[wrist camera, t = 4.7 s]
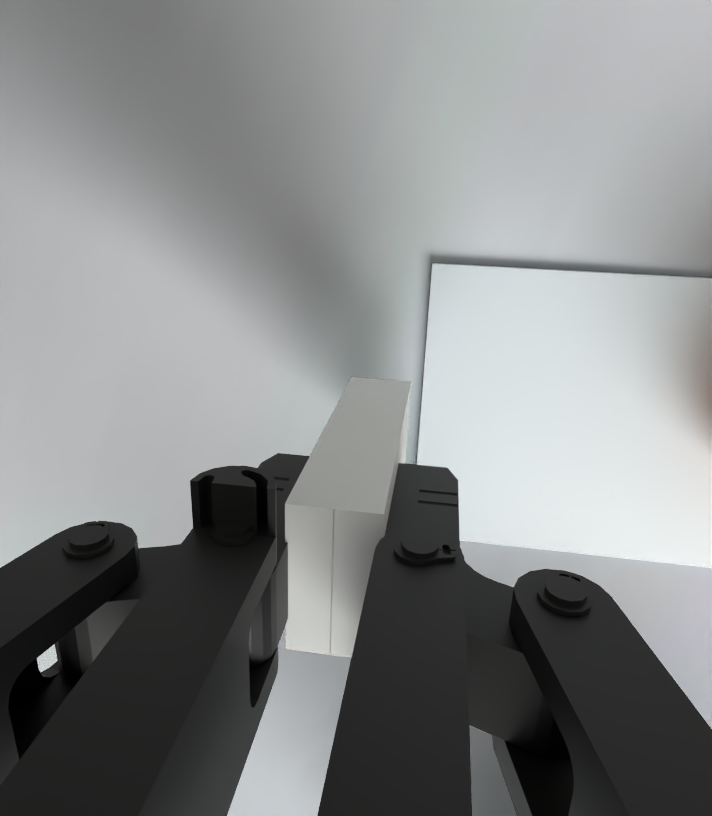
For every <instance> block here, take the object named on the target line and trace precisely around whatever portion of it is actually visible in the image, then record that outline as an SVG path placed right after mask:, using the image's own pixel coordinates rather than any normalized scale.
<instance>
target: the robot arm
mask: <svg viewBox="0 0 712 816" xmlns="http://www.w3.org/2000/svg"><path fill="white" fill-rule="evenodd" d="M410 391H411V382H410V381H397V380H384V379H371V378H359V377H351V379H350V381H349V382H348V384H347V386H346V388H345V390H344V392H343V394H342V396H341V398H340V400H339V402H338V403H337V405H336V407H335V409H334V411H333V413H332V415H331V417H330V419H329V421H328V422H327V424H326V426H325V428H324V430H323V432H322V434H321V436H320V438H319V440H318V442H317V443H316V445H315V447H314V449H313V451H312V453H311V455H310V456H301V455H290V454H280V453H278V454H276V455H274V456H273V457H271V458H269V459H267V460H265V461H264V462H262V463H261V464H260V466H259V467H258V468H253V467H248V466H226V467H220V468H214V469H211V470H208V471H206V472H203V473H200V474H199V475H197V476H196V477H194V478H193V479H192V480H190V485H191V500H192V516H193V529H192V530H191V532H190V533H189V534H188V536H187V537H186V538H185V540H184V541H183V542H182V544H179V545H172V546H164V547H151V548H139V549H138V543H137V536H136V534H135V533H134V531H133V529H132V528H130V527H128V526H126V525H124V524H121V523H115V522H107V521H98V522H96V521H94V522H87V523H84V524H81V525H78V526H74V527H70V528H68V529H66V530H64V531H62V532H60V533H57V534H55V535H54V536H52V537H50V538H49V539H47V540H46V541H44V542H42V543H41V544H39V545H37V546H36V547H34V548H32V549H31V550H29V551H28V552H26V553H24V554H23V555H21V556H19V557H18V558H16V559H14V560H13V561H11V562H9V563H8V564H6V565H5V566H3V567H1V568H0V816H227V813H228V811H229V808H230V805H231V802H232V799H233V796H234V794H235V791H236V788H237V785H238V782H239V779H240V777H241V774H242V771H243V768H244V765H245V763H246V760H247V757H248V754H249V751H250V748H251V746H252V743H253V740H254V737H255V734H256V731H257V729H258V726H259V723H260V720H261V717H262V714H263V712H264V709H265V706H266V703H267V700H268V698H269V695H270V692H271V689H272V686H273V683H274V681H275V678H276V675H277V670H278V643H279V641H280V638H281V635H282V633H283V630H284V627H285V625H286V649H289V650H297V651H304V652H311V653H319V654H326V655H333V656H341V657H348V658H351V663H350V667H349V672H348V677H347V681H346V686H345V690H344V695H343V700H342V704H341V709H340V714H339V718H338V723H337V728H336V732H335V737H334V742H333V746H332V751H331V756H330V760H329V765H328V769H327V774H326V779H325V783H324V788H323V793H322V797H321V802H320V807H319V811H318V816H472V803H471V769H470V736H469V725H471V726H473V727H476V728H478V729H480V730H483V731H485V732H487V733H489V734H492V738H493V746H494V750H495V753H496V756H497V759H498V762H499V765H500V768H501V770H502V773H503V776H504V779H505V782H506V785H507V788H508V791H509V793H510V796H511V799H512V802H513V805H514V808H515V811H516V814H517V816H712V729H711V728H710V727H709V725H708V724H707V723H706V721H705V720H704V719H703V717H702V716H701V715H700V713H699V712H698V711H697V709H696V708H695V707H694V705H693V704H692V703H691V701H690V700H689V699H688V698H687V696H686V695H685V694H684V692H683V691H682V690H681V688H680V687H679V686H678V684H677V683H676V682H675V680H674V679H673V678H672V676H671V675H670V674H669V672H668V671H667V670H666V668H665V667H664V666H663V664H662V663H661V662H660V661H659V659H658V658H657V657H656V655H655V654H654V653H653V651H652V650H651V649H650V647H649V646H648V645H647V643H646V642H645V641H644V639H643V638H642V637H641V635H640V634H639V633H638V631H637V630H636V629H635V628H634V626H633V625H632V624H631V622H630V621H629V620H628V618H627V617H626V616H625V614H624V613H623V612H622V610H621V609H620V608H619V606H618V605H617V604H616V602H615V601H614V600H613V598H612V597H611V596H610V595H609V594H608V593H607V592H606V591H604V590H603V589H602V588H601V587H600V586H599V585H597V584H596V583H594V582H592V581H590V580H588V579H586V578H585V577H583V576H580V575H577V574H574V573H570V572H567V571H562V570H550V569H543V570H537V571H530V572H528V573H526V574H525V575H523V576H521V577H520V578H518V580H517V582H516V584H515V586H514V587H511V586H507V585H504V584H501V583H498V582H496V581H493V580H491V579H488V578H486V577H484V576H483V575H481V574H479V573H478V572H476V571H474V570H473V569H472V568H471V567H470V566H469V565H468V564H467V563H466V562H465V560H464V556H463V554H462V551H461V548H460V539H459V497H458V479H457V478H456V477H455V476H454V475H453V474H452V472H451V471H450V470H449V469H448V468H446V467H436V466H425V465H415V464H405V462H406V448H407V433H408V419H409V405H410ZM53 644H55V648H56V653H57V659H58V661H57V662H56V663H55V664H53V665H52V666H51V667H50V668H48V669H46V670H45V671H43V672H41V673H40V671H39V669H38V664H37V657H38V656H40V655H41V654H42V653H43V652H45V651H46V650H47V649H48V648H50V647H51V646H52V645H53Z"/></svg>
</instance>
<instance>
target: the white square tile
mask: <svg viewBox="0 0 712 816" xmlns="http://www.w3.org/2000/svg"><path fill="white" fill-rule="evenodd" d="M417 465H425V466H436V467H446V468H448V469H449V470H450V471H451V472H452V474H453V475H454V476H455V477H456V478H457V479H458V497H459V539H460V541H469V542H478V543H487V544H497V545H506V546H515V547H524V548H533V549H542V550H551V551H560V552H570V553H579V554H588V555H597V556H606V557H615V558H624V559H634V560H643V561H652V562H661V563H670V564H679V565H688V566H698V567H707V568H712V278H703V277H685V276H666V275H648V274H629V273H610V272H592V271H573V270H555V269H536V268H517V267H499V266H480V265H462V264H443V263H432V274H431V287H430V300H429V313H428V326H427V339H426V351H425V364H424V377H423V390H422V403H421V416H420V429H419V441H418V454H417Z"/></svg>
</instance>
